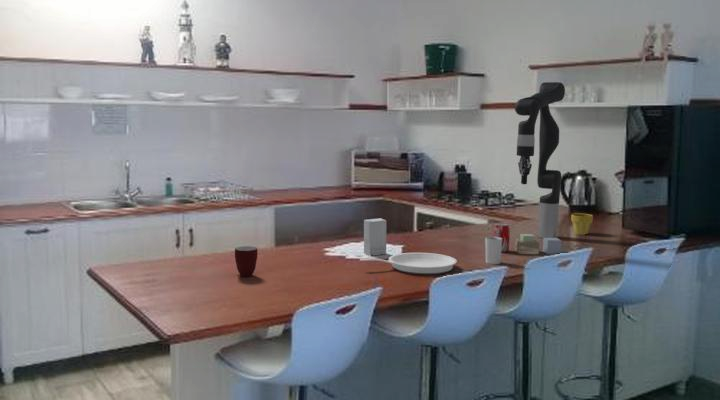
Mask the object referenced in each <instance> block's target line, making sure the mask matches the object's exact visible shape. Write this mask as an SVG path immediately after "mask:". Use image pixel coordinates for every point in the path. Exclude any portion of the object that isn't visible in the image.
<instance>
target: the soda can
mask: <svg viewBox="0 0 720 400" xmlns="http://www.w3.org/2000/svg"><path fill="white" fill-rule="evenodd" d="M510 232H511V229H510V226H509V223H501V222H497V223H495V225H494V226H493V233H492V237H500V238H502V247H501V253H506V252H508V251H509V249H510V240H511V239H510V237H511V236H510V235H511V233H510Z"/></svg>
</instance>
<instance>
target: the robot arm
mask: <svg viewBox="0 0 720 400" xmlns="http://www.w3.org/2000/svg"><path fill="white" fill-rule="evenodd" d="M565 94H566V89H565V84H563V83H562V82H558V81H557V82H556V81H555V82H554V81H550V82H549V81H546V82H542V83H541V84H540V85H539V90H538V92H536V93H534V94H533V95H531V96H528V97H527V96H526V97H524V98H521V99H518V100H517V101H516V103H515V105H514V111H515V112H516V114H517V115H519V116H527V117H528V119H526V120H522V121H520V122H519V123H518V131H517V140H516V156H519V157H520V159H519V161H518V162H517V164H518V165H517V166H518V170H519V174H520V176H521V177H520V179H521V181H520V184H521V185H527V184H528V176H529V175H530V173H531V169H532V166H533V165H532V163H531V158H530V157H534V156H535V141H536V139H535V134H536V133H535V131H536V130H535V128H536V123H537V119H538V116H539V131H538V133H539V136H538V137H539V138H538V140H539V142H538V143H539V144H538V145H539V146H538V148H539V149H538V150H539V152H538V156H539V157H538V168H537V178H536V179H537V183H536V184H537V187H538V188H539V189H546V190H547V189H548V190H551V192H550V193H548V194H545V195H541V196H540V197H539V208H538V209H539V211H538V228H537V229H538V230H537V237H538V238H541V239H543V238H558V231H559V230H558V229H559V215H560V214H559V209H560V198H561V197H560V196H561V184H562V173H561V171H560V170H557V169H556V170H555V169H547V166H548V165H547V164H548V161H549V160H550V158H551V156H552V155H553V153H554V152H555V151H556V149H557V148H558V146H559V143H560V128H559V125H558V123H557V122H556V120H555V118H554V117H553V115H552V113H551V111H550V104H553V103H558V102H561V101H562V100H564V98H565V96H566V95H565Z"/></svg>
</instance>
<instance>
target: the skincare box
mask: <svg viewBox="0 0 720 400" xmlns="http://www.w3.org/2000/svg"><path fill="white" fill-rule="evenodd" d="M365 253H366V254H365ZM363 254H365V255H367V254H368V255H367V256H369V255H373V256H378V255H379V256H380V255H381V254H382V255H387V220H386V219H383V218H381V217H380V218H370V219H363Z"/></svg>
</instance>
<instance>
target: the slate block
mask: <svg viewBox="0 0 720 400" xmlns="http://www.w3.org/2000/svg"><path fill="white" fill-rule="evenodd" d="M542 252H544V253H545V254H547V255H557V254H556V253H562V240H561V239H559V238H558V237H557V238H542Z"/></svg>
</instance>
